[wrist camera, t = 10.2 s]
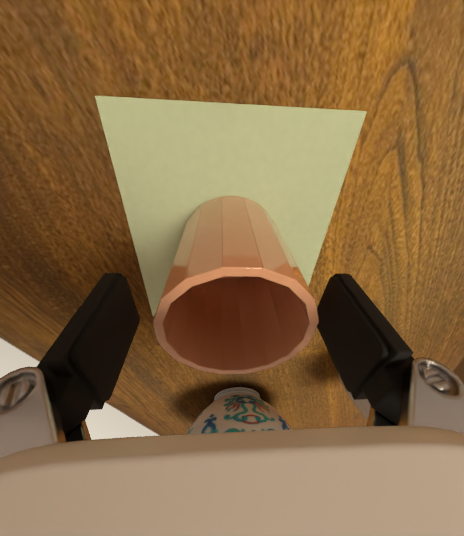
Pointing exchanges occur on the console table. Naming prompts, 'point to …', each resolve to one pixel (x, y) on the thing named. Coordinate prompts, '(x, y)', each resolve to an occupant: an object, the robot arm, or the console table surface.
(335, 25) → the console table surface
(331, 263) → the console table surface
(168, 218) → the mat
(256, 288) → the cup
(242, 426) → the chinaware
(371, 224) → the console table surface
